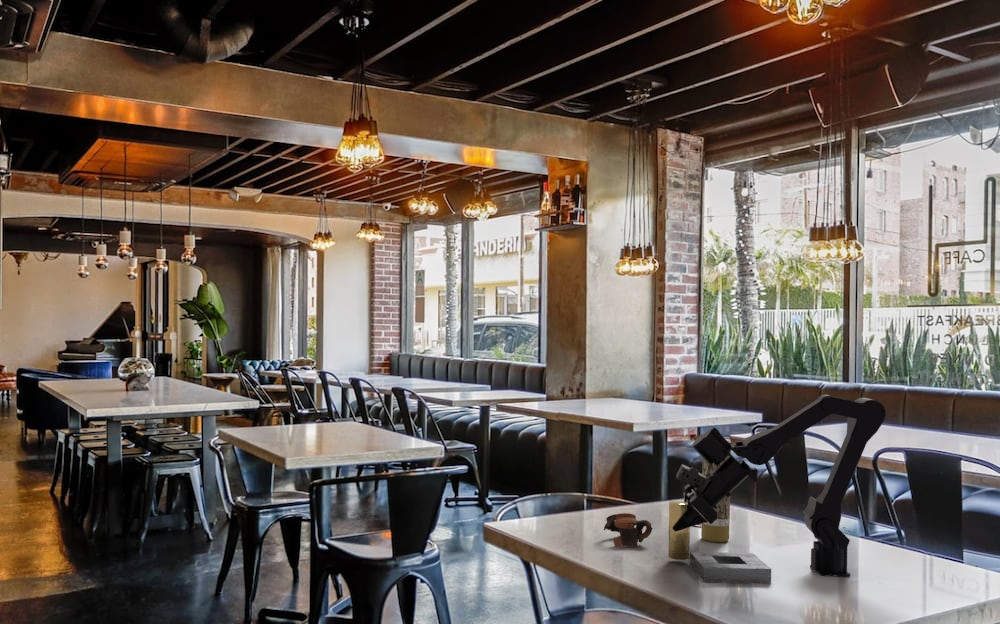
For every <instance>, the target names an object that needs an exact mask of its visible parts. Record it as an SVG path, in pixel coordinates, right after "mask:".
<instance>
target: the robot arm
mask: <svg viewBox="0 0 1000 624" xmlns="http://www.w3.org/2000/svg"><path fill="white" fill-rule="evenodd" d="M832 414H833V415H837V416H842V417H846V418H847V419H846V420H847V421H846V422H847V423H846V434H845V437H844V439H843V442H842V444H841V446H840V449H839V451H838V454H837V457H836V459H835V461H834V463H833V465H832V468H831V471H830V473H829V476H828V478H827V480H826V482H825V485H824V487H823V490H822V492H821V493H820V494H819V495H818V496H817V497H816V498H814V497H813V496H809V499H808V501H807V506H806V508H805V509H804V510H803V511H802V513H803V514H804V517H803V518H804V521H803V522H804V524H805V527H806V528H808V530H809V531H810V532H811V533H812V534H813V537H814V538H815V541H813V546H812V548H811V549H810V565H809V567H810V568H811V569H812V570H813V571H815V572H816V573H817V574H818V575H820V576H826V575H837V577H839V576H840V577H851V573H850V572H849V571H848V546H849V544H850V542H851V540H850V538H848V536H847V535H846V534H844V533H843V531H842V530H840V523H841V521H842V520H841V519H842V510H843V509H842V507H843V500H844V498H845V495H846V493H847V491H848V488H849V486H850V483H851V481H852V479H853V476H854V474H855V472H856V470H857V467H858V464H859V463H860V460H861V457H862V455H863V453H864V450H865V448H866V445H867V443H868V442H869V441H870V440H871V439H872V438H873V436H874V435H876V433H877V432H878V431H879V429H880V428H881V427H882V425H883V423H884V422H885V420H886V417H887V411H886V409H885V406H884V405H883V404H882V403H881V402H879V401H878V400H874V399H871V398H869V397H868V398H867V397H859V398H857V399H855V400H853V399H849V398H842V397H838V396H837V397H836V396H833V395H830V394H821V395H820V396H818V397H817V399H815V400H814V401H812V402H810V403H809V404H808V405H806V406H805V407H803V408H801V409H800V410H799V411H796V412H795V413H793V414H792V415H791V416H789V417H788V418H786V419H785V420H783V421H781V422H780V423H778V424H777V425H775V426H773V427H771V428H768V429H765V430H761V431H759V432H756V433H755V434H751V435H749V436H747V437H746V438H745V439H743V440H742V441H741V440H740V441H731V443H729V442H728V441H727V440H726V439H727V438H725V437H724V436H723V435H722V434H721V432H720V430H718V429H717V428H716V426H712V427H711V428H710V429H708V430H707V431H705V432H704V433H703V434H700V435H699V436H698V437H697V438H696V439H695V440H694V441H693V443H692V444H691V448H693V450H695V451H696V453H698V455H699V456H700V457H701V458H702V460H703V459H704V460H705V461H706V462H707V463H708V464H709V465H711V464H713V463H714V464H715V465H718V464H720V463H721V462H722V461H723V460H724V459H725V458H726V457H727V456H728V455H729V456H730V457H729V458H727V459H726V460H725V461H724V462H723V463H722V464H721V465H720V466H719V467H718V468H717V469H716V470H715V471H713V472H712V473H711V472H710V473H709V472H708V473H707V474H705V475H703V474H702V473H700V472H699V471H700V470H699V469H695V468H694V467H693V466H691V467H689V466H687V465H686V464H683V463H682V464H681V465H680V467H679V469H678V471H677V472H676V475H675V477H676V480H677V481H680V483H684V484H685V486H684V490H685V491H686V492H688V493H686V492H685V491H683V502H687V507H686V510H685V511H684V513H683V514H682V515H681V517H680V518H679V519H678V520H677V522H676V523H675V524H674V526H673V527H672V529H673V530H674V531H679V530H682V529H685V528H688V527H690V528H691V527H694V526H695V525H702V523H707V522H709V523H710V524H712V523H713V522H714V521H715V520H716V519H717V511H716V508H717V504H719V503H720V502H721V501H722V500H723V499H724V498H725V497H726V496H727V497H729V496H730V497H731V496H732V494H731V493H732V492H733V491H734V490H735V489H736V488H737V487H738V486H740V484H742V483H743V482H744V481H745V479H746V480H747V478H748V477H749V478H750V479H751V480H752V481H753V482H754V483H756V482H758V472H759V469H758V468H756V467H751V466H750V465H749V464H748V463H751V465H754V466H763V465H765V464H767V463H768V462H769V461H770V460H772V459H773V457H775V456H776V455H777V454H778V453H779V452H780V450H781V449H782V448H783V447H784V446H785V445H786V444H787V443H788V442H790V441H791V440H793V439H794V438H796V437H797V436H798V435H800V434H802V433H803V432H805V431H807V430H808V429H810V428H811V427H813V426H814V425H815V424H817V423H819V422H820V421H823V420H824V419H825V418H827V417H828V416H830V415H832ZM730 451H731V452H733V453H734V454H735V455H736V456H737V457H739V458H741V459H738V460H737V458H735V457H734V455H732V453H731V454H730V453H729V452H730ZM744 458H745V459H746V460H747V461H748V463H747V462H746V461H745V460H744ZM695 527H696V526H695Z"/></svg>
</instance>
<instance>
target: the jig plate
mask: <svg viewBox="0 0 1000 624" xmlns="http://www.w3.org/2000/svg"><path fill="white" fill-rule="evenodd" d="M689 567H690V568H691V569H692V570H693V571H694V573H696V575H697V576H698V577H699V578H700V580H701V581H702V582H703V583H723V582H724V584H725V582H726V583H727V584H728V583H729V584H730V583H732V584H772V568H771V567H770V566H769V565H768V564H767V563H765V562H764V561H763V560H761V558H759V557H758V556H757V555H756V554H755V553H753V552H724V551H722V552H720V551H719V552H718V551H715V552H714V551H690V552H689ZM734 582H735V583H734ZM736 582H737V583H736Z"/></svg>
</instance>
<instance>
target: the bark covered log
mask: <svg viewBox="0 0 1000 624" xmlns="http://www.w3.org/2000/svg"><path fill="white" fill-rule="evenodd" d="M725 439H726V440H727V441H728V442H729V443H731V442H732V441H731V439H729V438H725ZM729 453H730V454H731V455H732V450H731V451H730V452H729ZM729 457H730V456H729V455H728V456H727V457H726V458H725V459H724V460H723V461H722V462H721V463H720V464H718V465H715V464H714V463H713V464H711V465H709V464H708V463H707V462H706V461H705V460H704V459H703V458H702V470H701V471H702V473H701V474H703V475H705V474H707V473H708V472H709V473H710V472H711V473H712V472H713V471H715V470H716V469H717V468H718V467H719V466H720V465H721V464H722V463H723V462H724V461H725V460H726V459H727V458H729ZM716 511H717V519H716V520H715V521H714V522H713V523H712V524H710V523H709V522H707V523H702V524H701V525H702V527H701V534H700V535H701V538H702V539H703V540H705V541H707V542H711V543H726V542H728V541H729V540H730V523H731V522H730V519H731V518H730V516H731V495H730V496H729V497H727V496H726V497H725V498H724V499H723V500H722V501H721V502H720V503H719V504H717V508H716Z"/></svg>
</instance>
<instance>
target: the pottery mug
mask: <svg viewBox="0 0 1000 624" xmlns="http://www.w3.org/2000/svg"><path fill="white" fill-rule="evenodd" d="M605 521H606V523H605V525H604V527H603V531H606V530H608V531H609V532H611V533H612V532H615V533H619V536H615V537H613V538H612V541H613V544H614V545H615V546H618V547H634V548H637V547H638V544H639V543H643V541H644V540H645V539H647V538H649V536H650V535H651V534H652V531H653V527H652V523H651V522H650V521H649V520H647V519H641V520H637V517H636V515H635V514H633V513H629V512H628V513H625V512H623V513H617V514H616V513H615V514H611V515H609V516H607V517H606V520H605ZM644 527H645V531H644V532H643V529H644ZM615 546H614V547H615Z"/></svg>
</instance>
